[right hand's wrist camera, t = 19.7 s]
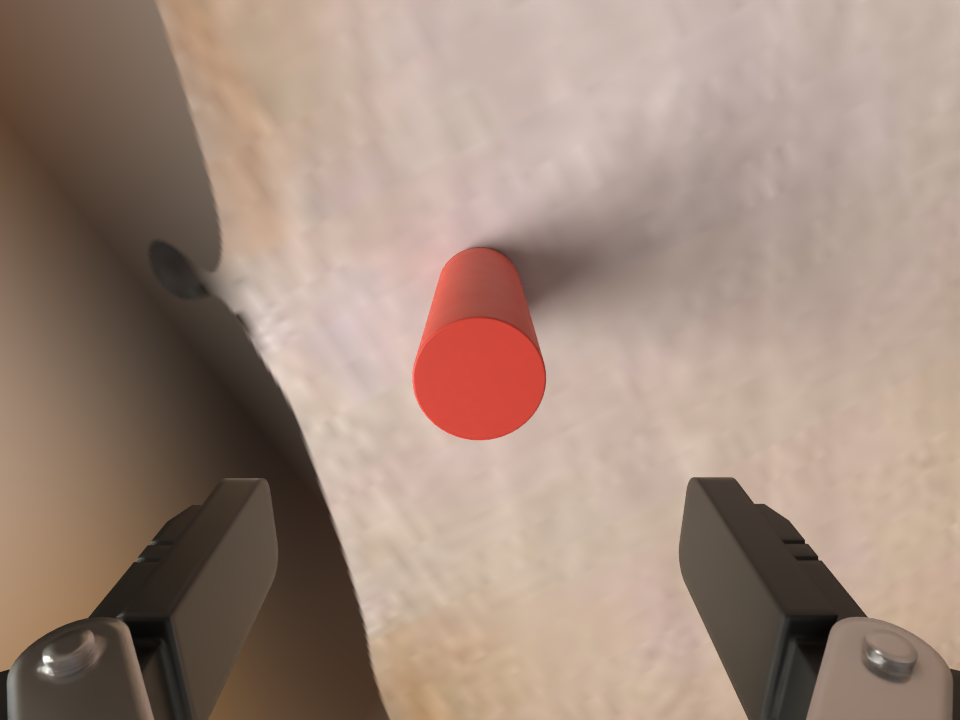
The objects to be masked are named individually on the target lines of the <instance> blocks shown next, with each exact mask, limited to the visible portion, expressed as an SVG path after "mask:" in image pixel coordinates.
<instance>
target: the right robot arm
mask: <svg viewBox="0 0 960 720" xmlns="http://www.w3.org/2000/svg"><path fill="white" fill-rule="evenodd" d="M277 562H278V545H277V537H276V530H275V523H274V516H273V508H272V501H271V494H270V488H269V484H268V482H267V481H266V480H265V479H260V478H259V479H257V478H253V479H252V478H244V479H242V478H239V479H238V478H235V479H234V478H233V479H232V478H228V479H223V480H221V481H220V482H219V484H218V485H217V486H216V487H215V489H214V490H213V491H212V493H211V494H210V495H209V497H208V498H207V499H206V501H205V502H204V503H203V504H202V505H192V506H190V507H189V508H187V509H186V510H184V511H183V512H181V513H180V514H178V515H177V516H175V517H174V518H172V519H171V520H169V521H168V522H167V523H166V524H165V525H164V526H163V528H162V529H161V530H160V531H159V532H158V534H157V535H156V536H155V537H154V539H153V540H152V541H151V545H148V546H147V547H146V548H145V549H144V551H143V552H142V553H141V554H140V556H139V557H138V560H137V562H134V563H133V564H132V565H131V567H130V568H129V569H128V570H127V571H126V573H125V574H124V575H123V576H122V577H121V579H120V580H119V581H118V582H117V584H116V585H115V586H114V587H113V588H112V590H111V591H110V592H109V593H108V594H107V596H106V597H105V598H104V599H103V601H102V602H101V603H100V604H99V605H98V607H97V608H96V609H95V610H94V612H93V613H92V614H91V615H90V616H89V618H86V619H83V620H78V621H75V622H72V623H69V624H66V625H64V626H62V627H59V628H57V629H55V630H53V631H51V632H49V633H47V634H46V635H44V636H43V637H41V638H40V639H38V640H37V641H35V642H34V643H33V644H32V645H30V646H29V647H28V648H27V649H26V650H25V651H24V652H23V653H21V655H20V656H19V657H18V658H17V659H16V661H15V662H14V664H13V665H12V667H11V669H9V670H6V671H2V672H0V720H208V719H209V717H210V715H211V712H212V710H213V708H214V706H215V704H216V702H217V700H218V698H219V695H220V693H221V691H222V689H223V687H224V685H225V683H226V681H227V678H228V676H229V674H230V672H231V670H232V668H233V665H234V664H235V661H236V659H237V657H238V655H239V653H240V651H241V649H242V647H243V644H244V642H245V640H246V638H247V636H248V634H249V632H250V629H251V627H252V625H253V623H254V621H255V619H256V617H257V615H258V612H259V610H260V608H261V606H262V604H263V602H264V600H265V598H266V595H267V593H268V591H269V589H270V587H271V585H272V583H273V580H274V577H275V573H276V569H277ZM679 562H680V568H681V573H682V576H683V579H684V582H685V584H686V586H687V588H688V590H689V592H690V595H691V597H692V599H693V601H694V603H695V605H696V607H697V610H698V612H699V614H700V616H701V618H702V620H703V623H704V625H705V627H706V629H707V631H708V633H709V635H710V638H711V640H712V642H713V644H714V646H715V648H716V651H717V653H718V655H719V657H720V659H721V661H722V663H723V666H724V668H725V670H726V672H727V674H728V676H729V679H730V681H731V683H732V685H733V687H734V689H735V691H736V694H737V696H738V698H739V700H740V702H741V704H742V707H743V709H744V711H745V713H746V715H747V717H748V719H749V720H960V671H957V670H953V669H950V668H949V667H948V665H947V664H946V662H945V660H944V659H943V658H942V657H941V656H940V655H939V653H938V652H936V651H935V650H934V649H933V648H932V647H931V646H930V645H929V644H927V643H926V642H925V641H923V640H922V639H920V638H919V637H917V636H916V635H914V634H913V633H911V632H909V631H907V630H905V629H903V628H901V627H898V626H896V625H894V624H891V623H888V622H885V621H882V620H878V619H874V618H868V617H867V616H866V615H865V613H864V612H863V611H862V610H861V608H860V607H859V606H858V605H857V604H856V602H855V601H854V600H853V599H852V597H851V596H850V595H849V594H848V592H847V591H846V590H845V589H844V588H843V586H842V585H841V584H840V583H839V581H838V580H837V579H836V578H835V577H834V575H833V574H832V573H831V572H830V570H829V569H828V568H827V567H826V565H825V564H824V563H823V562H822V561H819V560H818V556H817V554H816V553H815V552H814V551H813V550H812V548H811V547H810V546H809V545H808V544H805V540H804V538H803V537H802V536H801V535H800V534H799V532H798V531H797V530H796V529H795V527H794V526H793V525H792V524H791V523H790V521H789V520H787V519H786V518H784V517H783V516H781V515H780V514H778V513H777V512H775V511H774V510H772V509H771V508H769V507H768V506H766V505H765V504H754V503H753V502H752V500H751V499H750V498H749V496H748V495H747V494H746V492H745V491H744V490H743V488H742V487H741V486H740V484H739V483H738V482H737V481H736V480H735V479H734V478H731V477H694V478H691V479H690V481H689V483H688V486H687V492H686V499H685V506H684V514H683V521H682V528H681V536H680V543H679Z"/></svg>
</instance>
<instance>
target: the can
mask: <svg viewBox="0 0 960 720" xmlns="http://www.w3.org/2000/svg"><path fill="white" fill-rule="evenodd" d="M545 385H546V370H545V365H544V361H543V358H542V354H541V351H540V347H539V344H538V340H537V337H536V333H535V330H534V326H533V322H532V319H531V315H530V312H529V308H528V305H527V301H526V298H525V294H524V291H523V287H522V284H521V280H520V277H519V274H518V272H517V270H516V268H515V266H514V265H513V263H512V262H511V261H510V260H509V259H508V258H507V257H505V256H504V255H503V254H501V253H499V252H497V251H495V250H492V249H488V248H471V249H467V250H464V251H462V252H460V253H458V254H457V255H455V256H454V257H453V258H451V259H450V260H449V261H448V263H447V264H446V265H445V267H444V268H443V270H442V272H441V275H440V278H439V281H438V285H437V288H436V291H435V295H434V298H433V302H432V305H431V309H430V312H429V315H428V319H427V322H426V326H425V329H424V332H423V336H422V339H421V343H420V346H419V350H418V353H417V356H416V360H415V363H414V368H413V389H414V393H415V396H416V399H417V401H418V404H419V406H420V407H421V409H422V411H423V412H424V413H425V415H426V416H427V417H428V418H429V419H430V420H431V421H432V422H433V423H434V424H435V425H436V426H438V427H439V428H440V429H442V430H444V431H446V432H447V433H449V434H452V435H454V436H457V437H460V438H464V439H470V440H489V439H494V438H498V437H502V436H505V435H507V434H509V433H511V432H513V431H515V430H516V429H518V428H520V427H521V426H522V425H523V424H525V423H526V422H527V421H528V420H529V419H530V418H531V417H532V415H533V414H534V413H535V411H536V410H537V408H538V407H539V405H540V403H541V400H542V398H543V395H544V391H545Z"/></svg>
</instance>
